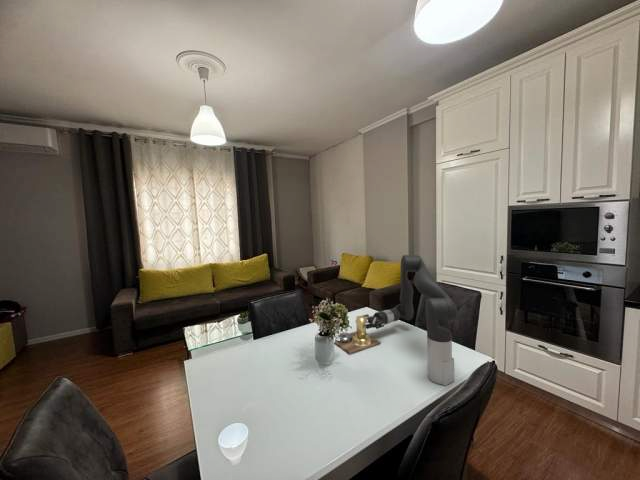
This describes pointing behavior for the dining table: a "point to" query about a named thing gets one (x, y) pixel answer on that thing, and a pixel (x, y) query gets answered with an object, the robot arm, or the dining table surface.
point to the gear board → (356, 345)
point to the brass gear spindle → (361, 332)
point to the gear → (345, 338)
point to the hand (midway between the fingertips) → (361, 324)
